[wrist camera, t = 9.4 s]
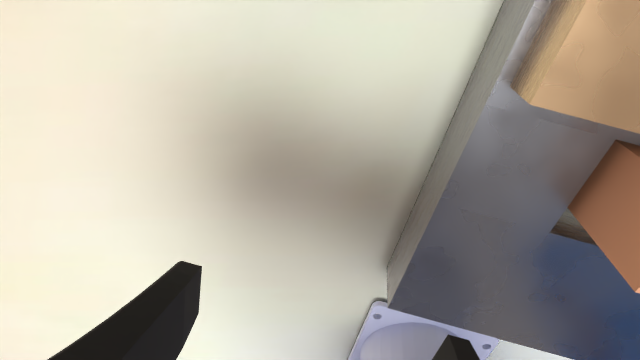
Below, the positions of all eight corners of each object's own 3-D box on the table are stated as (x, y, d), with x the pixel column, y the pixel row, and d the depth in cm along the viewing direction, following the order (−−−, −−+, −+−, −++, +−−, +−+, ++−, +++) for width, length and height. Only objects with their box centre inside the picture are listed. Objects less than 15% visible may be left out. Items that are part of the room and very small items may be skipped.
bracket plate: (619, 331, 21) (680, 422, 17) (386, 267, 21) (388, 342, 17) (969, -8, 12) (1298, 3, 8) (554, -115, 12) (649, -162, 8)
